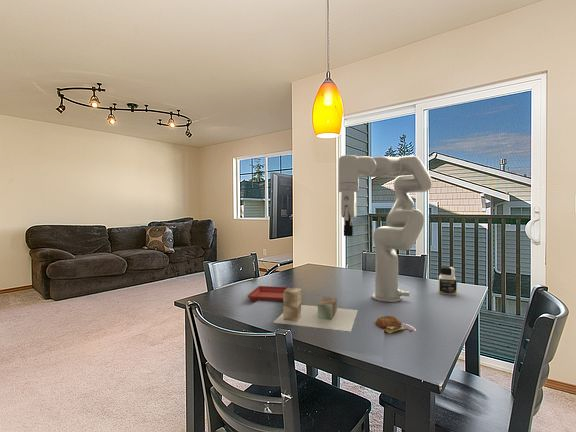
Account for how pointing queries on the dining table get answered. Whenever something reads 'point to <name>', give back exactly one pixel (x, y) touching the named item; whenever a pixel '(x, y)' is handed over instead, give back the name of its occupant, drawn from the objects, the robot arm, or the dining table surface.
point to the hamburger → (391, 324)
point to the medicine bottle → (447, 281)
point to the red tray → (267, 293)
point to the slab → (310, 319)
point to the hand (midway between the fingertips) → (348, 235)
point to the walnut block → (327, 308)
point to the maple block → (292, 304)
